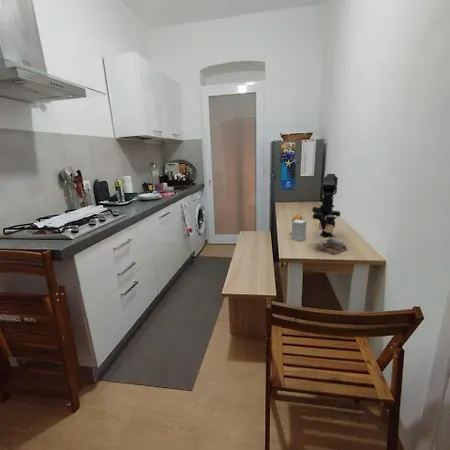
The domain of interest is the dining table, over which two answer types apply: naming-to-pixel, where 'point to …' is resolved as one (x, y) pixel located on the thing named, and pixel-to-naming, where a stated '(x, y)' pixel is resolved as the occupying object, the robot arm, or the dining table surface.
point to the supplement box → (298, 230)
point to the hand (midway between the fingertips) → (325, 228)
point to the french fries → (297, 217)
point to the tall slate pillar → (335, 243)
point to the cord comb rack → (331, 249)
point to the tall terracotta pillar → (326, 228)
